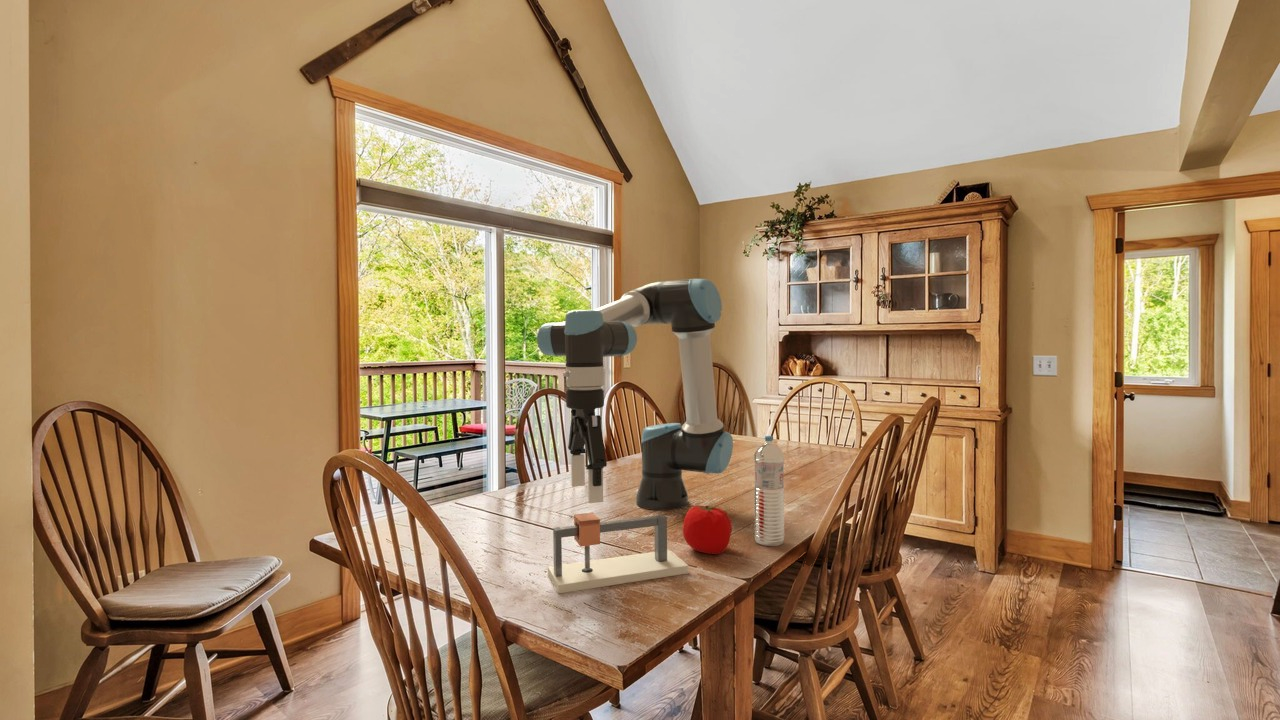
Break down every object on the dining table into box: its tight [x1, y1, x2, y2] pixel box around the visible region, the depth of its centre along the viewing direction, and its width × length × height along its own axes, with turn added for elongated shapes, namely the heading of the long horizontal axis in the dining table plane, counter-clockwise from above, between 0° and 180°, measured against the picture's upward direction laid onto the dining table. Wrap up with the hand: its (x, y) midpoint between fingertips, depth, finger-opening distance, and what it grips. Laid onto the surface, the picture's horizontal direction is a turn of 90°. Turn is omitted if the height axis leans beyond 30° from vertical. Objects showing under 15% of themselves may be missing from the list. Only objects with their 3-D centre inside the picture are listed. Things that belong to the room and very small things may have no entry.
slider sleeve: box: [573, 512, 601, 568], centre depth 121 cm, size 4×5×10 cm
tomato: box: [682, 505, 733, 555], centre depth 136 cm, size 11×13×10 cm
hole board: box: [547, 549, 689, 594], centre depth 123 cm, size 27×10×2 cm, turn 110°
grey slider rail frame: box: [552, 514, 668, 577], centre depth 122 cm, size 24×2×9 cm, turn 110°
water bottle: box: [753, 435, 785, 547], centre depth 141 cm, size 7×7×25 cm
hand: (586, 493), depth 120 cm, fingers open, 13 cm apart
